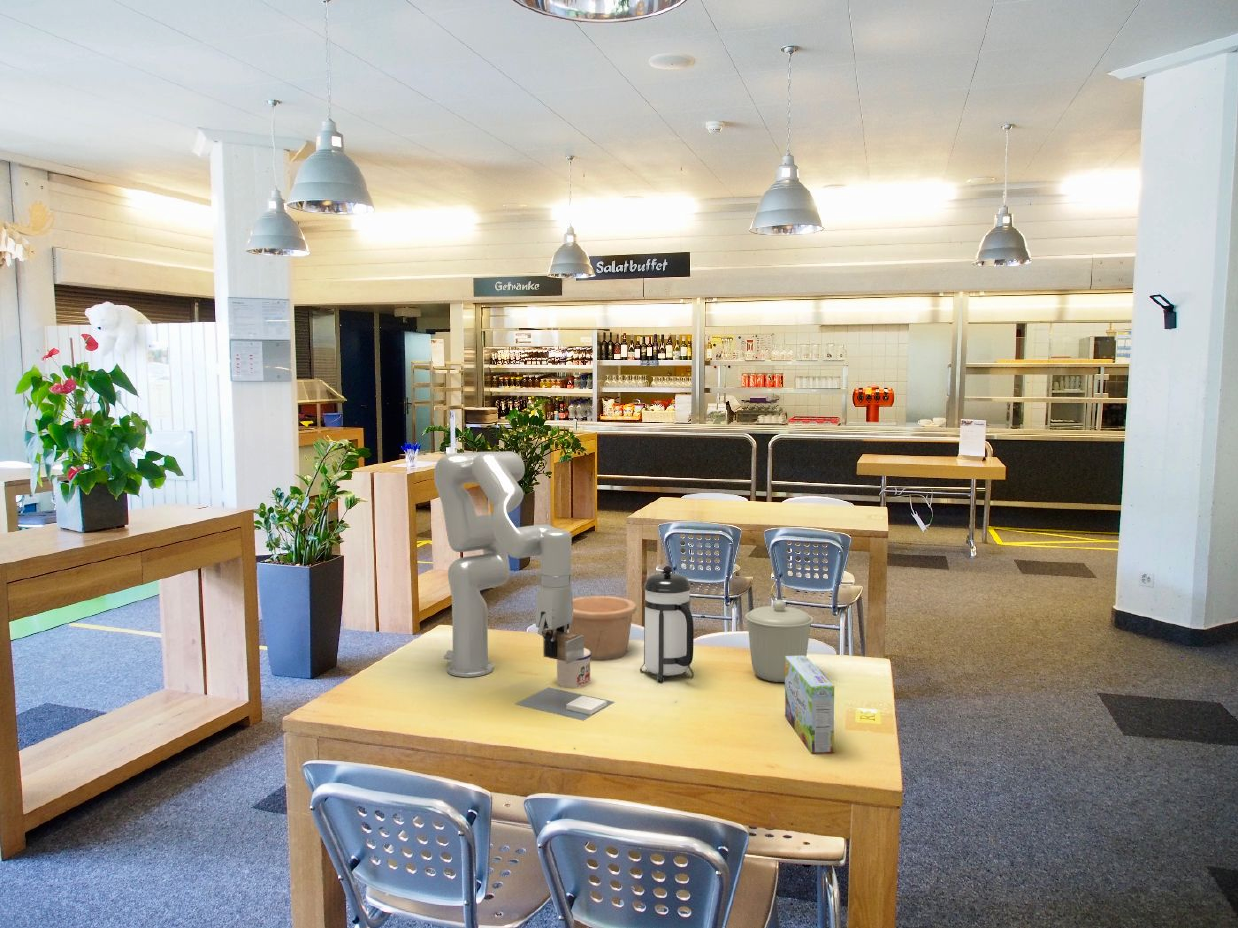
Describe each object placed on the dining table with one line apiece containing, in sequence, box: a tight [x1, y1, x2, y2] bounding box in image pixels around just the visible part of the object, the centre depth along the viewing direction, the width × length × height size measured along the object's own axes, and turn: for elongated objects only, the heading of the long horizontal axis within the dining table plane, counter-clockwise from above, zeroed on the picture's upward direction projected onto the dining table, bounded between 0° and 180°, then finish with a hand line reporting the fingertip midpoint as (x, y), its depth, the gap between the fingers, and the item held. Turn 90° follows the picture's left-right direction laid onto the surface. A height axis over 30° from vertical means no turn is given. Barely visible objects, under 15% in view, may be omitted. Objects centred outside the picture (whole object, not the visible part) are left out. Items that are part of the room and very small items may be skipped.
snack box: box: [784, 655, 835, 755], centre depth 193 cm, size 21×6×15 cm, turn 5°
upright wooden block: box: [542, 631, 584, 664], centre depth 209 cm, size 8×7×6 cm
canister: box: [744, 599, 814, 683], centre depth 232 cm, size 18×18×21 cm
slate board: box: [515, 687, 615, 721], centre depth 210 cm, size 20×14×1 cm
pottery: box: [567, 595, 638, 661], centre depth 254 cm, size 22×22×14 cm
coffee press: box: [639, 565, 695, 684], centre depth 232 cm, size 17×16×30 cm
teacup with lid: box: [556, 648, 591, 689], centre depth 226 cm, size 12×9×12 cm
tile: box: [566, 695, 607, 716], centre depth 206 cm, size 1×7×7 cm
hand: (555, 653), depth 210 cm, fingers closed on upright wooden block, 3 cm apart
